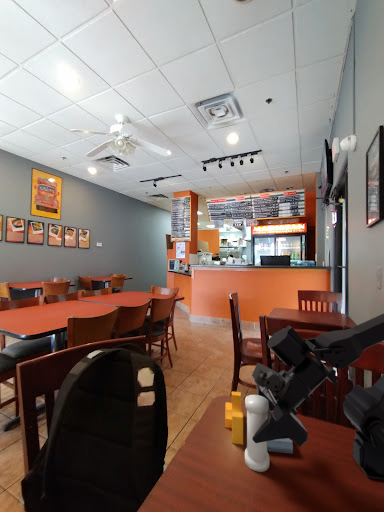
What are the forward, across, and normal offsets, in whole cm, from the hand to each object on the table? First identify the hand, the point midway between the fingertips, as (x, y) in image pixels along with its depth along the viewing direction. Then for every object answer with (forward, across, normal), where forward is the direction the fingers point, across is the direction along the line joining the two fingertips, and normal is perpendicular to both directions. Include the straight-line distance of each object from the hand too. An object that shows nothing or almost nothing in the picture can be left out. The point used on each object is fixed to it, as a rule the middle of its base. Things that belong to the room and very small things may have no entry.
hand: (250, 430), depth 53 cm
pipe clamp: (+7, -11, +3) cm, 13 cm away
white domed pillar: (+4, 0, +6) cm, 7 cm away
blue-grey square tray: (0, -8, +9) cm, 12 cm away
